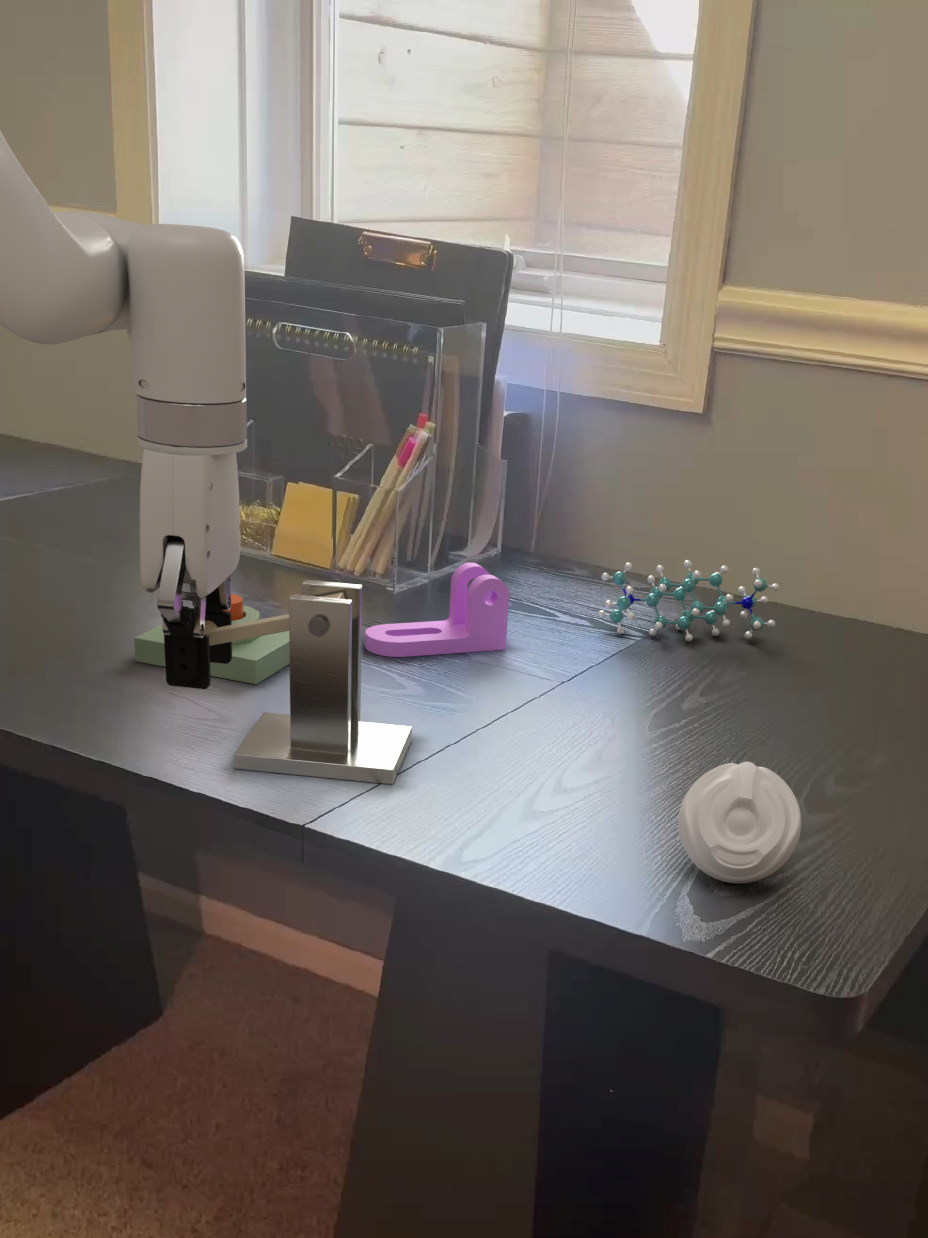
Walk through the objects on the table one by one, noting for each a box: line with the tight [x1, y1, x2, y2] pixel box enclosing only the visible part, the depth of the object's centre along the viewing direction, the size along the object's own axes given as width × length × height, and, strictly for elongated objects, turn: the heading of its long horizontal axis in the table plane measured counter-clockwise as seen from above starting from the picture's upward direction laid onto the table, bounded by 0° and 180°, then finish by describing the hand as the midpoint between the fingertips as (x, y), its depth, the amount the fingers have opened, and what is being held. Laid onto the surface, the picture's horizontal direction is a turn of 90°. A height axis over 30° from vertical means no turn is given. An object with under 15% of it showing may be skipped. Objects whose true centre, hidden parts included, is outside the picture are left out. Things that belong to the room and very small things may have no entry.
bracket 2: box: [364, 562, 510, 658], centre depth 130 cm, size 13×6×7 cm, turn 113°
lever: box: [204, 592, 345, 646], centre depth 102 cm, size 12×5×2 cm, turn 84°
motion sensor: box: [677, 761, 802, 884], centre depth 91 cm, size 8×8×8 cm
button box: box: [133, 605, 290, 685], centre depth 123 cm, size 12×10×4 cm
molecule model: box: [597, 559, 780, 643], centre depth 138 cm, size 8×18×7 cm, turn 96°
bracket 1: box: [233, 579, 413, 785], centre depth 103 cm, size 12×9×13 cm
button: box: [224, 593, 244, 621], centre depth 122 cm, size 4×4×2 cm
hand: (200, 671), depth 104 cm, fingers closed on lever, 5 cm apart
